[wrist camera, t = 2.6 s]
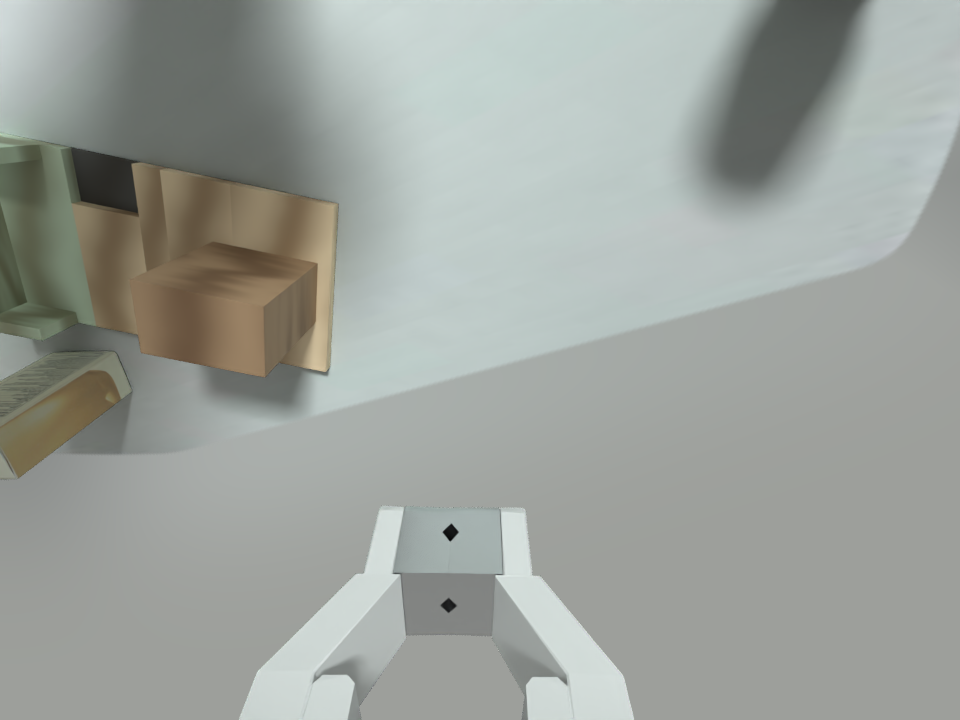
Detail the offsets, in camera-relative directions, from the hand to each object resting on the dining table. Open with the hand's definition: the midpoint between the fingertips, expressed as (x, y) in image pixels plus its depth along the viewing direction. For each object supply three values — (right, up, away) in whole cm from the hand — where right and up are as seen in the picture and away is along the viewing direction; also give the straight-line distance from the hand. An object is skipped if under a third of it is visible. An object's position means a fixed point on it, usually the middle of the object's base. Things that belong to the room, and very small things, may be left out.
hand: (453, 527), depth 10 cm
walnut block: (-16, +10, +28) cm, 33 cm away
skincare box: (-34, +3, +34) cm, 49 cm away
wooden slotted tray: (-24, +12, +28) cm, 39 cm away
